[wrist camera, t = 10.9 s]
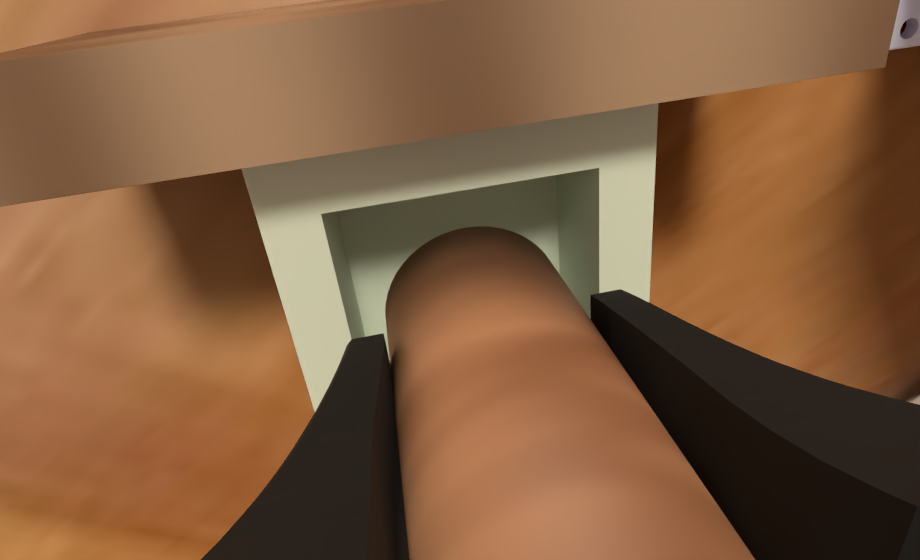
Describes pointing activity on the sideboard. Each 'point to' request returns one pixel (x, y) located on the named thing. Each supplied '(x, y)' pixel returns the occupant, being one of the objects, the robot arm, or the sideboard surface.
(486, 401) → the dowel
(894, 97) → the sideboard surface
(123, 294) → the sideboard surface
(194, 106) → the block
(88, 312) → the sideboard surface
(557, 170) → the socket block
